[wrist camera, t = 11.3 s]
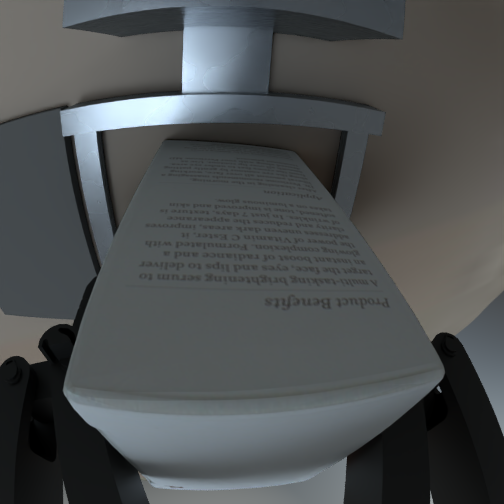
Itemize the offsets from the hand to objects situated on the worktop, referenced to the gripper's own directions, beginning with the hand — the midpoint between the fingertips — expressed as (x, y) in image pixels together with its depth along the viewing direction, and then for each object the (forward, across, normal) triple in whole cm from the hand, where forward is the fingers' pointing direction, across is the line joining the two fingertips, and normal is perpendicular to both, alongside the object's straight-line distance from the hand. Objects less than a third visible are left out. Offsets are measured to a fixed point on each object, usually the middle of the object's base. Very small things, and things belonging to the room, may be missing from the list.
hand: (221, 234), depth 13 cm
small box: (+1, 0, 0) cm, 1 cm away
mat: (+1, -11, 0) cm, 11 cm away
